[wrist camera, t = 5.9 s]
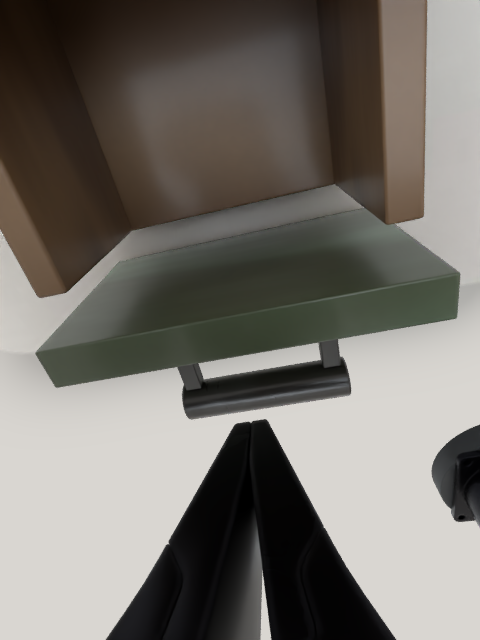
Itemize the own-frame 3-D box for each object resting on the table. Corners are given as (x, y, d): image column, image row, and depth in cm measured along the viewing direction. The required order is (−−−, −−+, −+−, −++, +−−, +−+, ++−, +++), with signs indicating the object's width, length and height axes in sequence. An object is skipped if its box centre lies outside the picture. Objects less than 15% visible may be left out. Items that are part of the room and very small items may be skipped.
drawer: (377, 327, 16) (449, 445, 10) (161, 365, 18) (116, 488, 12) (345, -276, 8) (565, -1193, 3) (-39, -123, 10) (-476, -483, 4)
